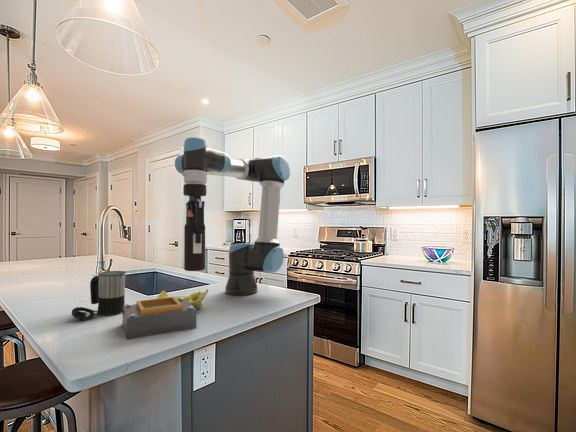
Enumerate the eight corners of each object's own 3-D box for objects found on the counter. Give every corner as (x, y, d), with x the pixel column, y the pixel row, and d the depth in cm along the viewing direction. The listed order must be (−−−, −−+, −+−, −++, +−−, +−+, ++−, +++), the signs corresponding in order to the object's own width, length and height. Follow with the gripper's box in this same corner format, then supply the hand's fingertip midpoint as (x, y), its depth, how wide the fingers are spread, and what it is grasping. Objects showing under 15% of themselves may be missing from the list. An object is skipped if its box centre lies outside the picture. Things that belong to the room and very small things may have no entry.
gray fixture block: (184, 314, 116) (184, 294, 116) (196, 327, 103) (196, 304, 103) (122, 324, 106) (122, 301, 106) (126, 339, 92) (126, 313, 92)
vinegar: (200, 271, 105) (200, 210, 105) (180, 271, 106) (180, 210, 106) (208, 268, 112) (208, 210, 112) (189, 268, 113) (189, 210, 113)
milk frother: (130, 309, 124) (130, 270, 124) (107, 322, 108) (107, 277, 108) (93, 309, 124) (93, 270, 124) (65, 322, 108) (65, 277, 108)
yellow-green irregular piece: (151, 304, 122) (164, 288, 131) (157, 319, 125) (170, 302, 134) (199, 303, 118) (209, 286, 127) (205, 318, 121) (214, 301, 130)
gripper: (177, 186, 116) (176, 250, 115) (191, 180, 99) (190, 255, 99) (198, 187, 120) (197, 249, 119) (215, 182, 103) (214, 254, 103)
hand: (194, 252), depth 109 cm, fingers closed on vinegar, 6 cm apart
